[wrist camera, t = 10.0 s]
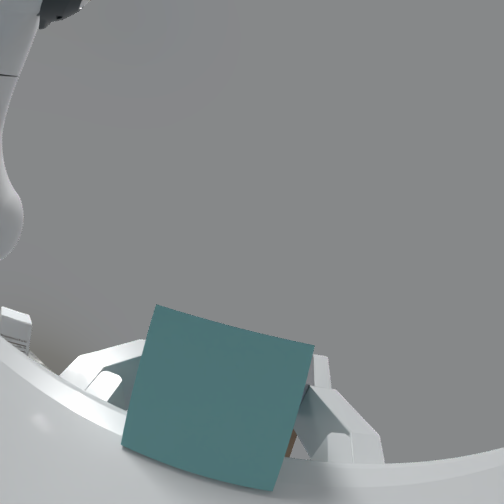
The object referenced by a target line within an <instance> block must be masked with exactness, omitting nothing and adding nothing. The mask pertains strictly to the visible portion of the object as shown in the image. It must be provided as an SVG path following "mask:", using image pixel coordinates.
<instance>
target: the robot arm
mask: <svg viewBox="0 0 504 504" xmlns="http://www.w3.org/2000/svg"><path fill="white" fill-rule="evenodd" d="M90 1H91V0H0V260H2V259H3V258H5V257H6V256H7V255H8V254H9V253H10V252H11V251H12V250H13V249H14V247H15V246H16V244H17V242H18V240H19V238H20V235H21V232H22V228H23V220H24V217H23V216H24V214H23V206H22V202H21V199H20V197H19V195H18V194H17V193H16V191H15V190H14V188H13V186H12V185H11V183H10V180H9V178H8V175H7V172H6V169H5V165H4V160H3V153H2V132H3V126H4V121H5V117H6V113H7V110H8V106H9V103H10V100H11V97H12V94H13V91H14V88H15V85H16V83H17V80H18V78H19V76H18V75H20V73H21V70H22V68H23V65H24V63H25V60H26V58H27V55H28V53H29V50H30V48H31V45H32V43H33V40H34V37H35V35H36V32H37V30H38V27H39V29H44V28H46V27H47V26H48V25H49V24H50V23H51V22H53V21H59V20H63V19H65V18H67V17H69V16H71V15H73V14H75V13H77V12H79V11H80V10H81V9H82V8H83V6H84V5H86V4H87V3H89V2H90ZM145 341H146V339H145ZM145 341H144V340H142V339H140V340H136V341H133V342H129V343H126V344H122V345H118V346H114V347H111V348H107V349H103V350H100V351H96V352H92V353H88V354H84V355H80V356H79V357H78V358H77V359H76V360H75V361H74V362H73V363H72V364H71V365H70V366H68V367H67V369H66V370H64V372H62V374H61V375H60V376H58V375H56V374H55V373H53V372H51V371H50V370H48V369H47V368H45V367H43V366H42V365H40V364H39V363H37V362H36V361H34V360H33V359H31V358H30V357H28V356H27V355H25V354H24V353H23V352H21V351H20V350H18V349H17V348H16V347H14V346H13V345H12V344H10V343H9V342H8V341H6V340H5V339H4V338H2V337H1V336H0V504H504V448H500V449H496V450H492V451H488V452H484V453H479V454H474V455H469V456H463V457H457V458H450V459H443V460H435V461H426V462H413V463H397V464H396V463H395V464H385V461H384V456H383V450H382V445H381V441H380V435H379V434H378V433H377V432H376V431H375V430H374V429H373V428H372V427H371V426H370V425H369V424H368V423H367V422H366V421H365V420H364V419H363V418H362V417H361V416H360V415H359V414H358V412H357V411H356V410H355V409H354V408H353V407H352V406H351V405H350V404H349V403H348V402H347V401H346V400H345V399H344V398H343V397H342V396H341V394H340V393H339V392H338V391H337V390H336V389H332V388H331V378H330V371H329V362H328V358H327V356H321V355H315V354H313V355H312V359H311V364H310V368H309V372H308V376H307V380H306V384H305V388H304V391H303V395H302V399H301V403H300V406H299V410H298V414H297V417H296V421H295V424H294V427H293V429H294V430H295V432H296V434H297V436H298V437H299V439H300V441H301V443H302V444H303V446H304V448H305V449H306V451H307V453H308V455H309V456H310V458H311V459H310V460H303V459H295V458H289V457H284V460H283V463H282V466H281V469H280V472H279V475H278V478H277V480H276V483H275V486H274V489H273V491H267V490H261V489H255V488H250V487H245V486H240V485H236V484H232V483H227V482H223V481H219V480H216V479H212V478H208V477H205V476H201V475H198V474H195V473H191V472H188V471H185V470H182V469H179V468H176V467H173V466H171V465H168V464H165V463H162V462H160V461H157V460H155V459H152V458H150V457H147V456H145V455H142V454H140V453H138V452H135V451H133V450H131V449H129V448H127V447H124V446H122V445H121V440H122V435H123V430H124V425H125V420H126V416H127V411H126V410H128V407H129V403H130V398H131V394H132V390H133V386H134V382H135V378H136V374H137V370H138V366H139V363H140V359H141V355H142V352H143V348H144V344H145Z"/></svg>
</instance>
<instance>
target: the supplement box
mask: <svg viewBox="0 0 504 504" xmlns="http://www.w3.org/2000/svg"><path fill="white" fill-rule="evenodd" d="M31 331H32V322H31V319H30V316H29V315H28V314H24V313H21V312H17V311H14V310H12V309H9V308H6V307H1V313H0V336H1V337H2V338H4V339H5V340H6V341H8V342H9V343H10V344H12V345H13V346H14V347H16V348H17V349H18V350H20V351H21V352H23V353H24V354H25V355H27V356H28V353H29V345H30V338H31Z"/></svg>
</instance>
